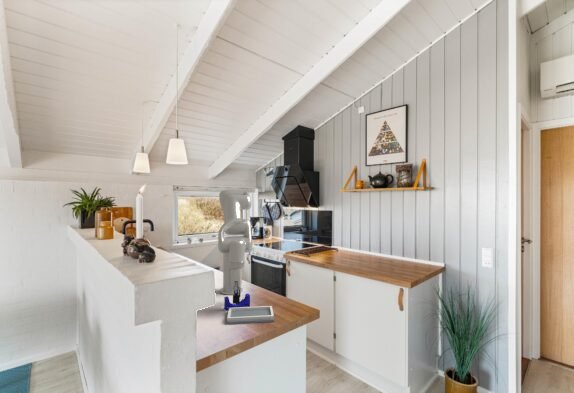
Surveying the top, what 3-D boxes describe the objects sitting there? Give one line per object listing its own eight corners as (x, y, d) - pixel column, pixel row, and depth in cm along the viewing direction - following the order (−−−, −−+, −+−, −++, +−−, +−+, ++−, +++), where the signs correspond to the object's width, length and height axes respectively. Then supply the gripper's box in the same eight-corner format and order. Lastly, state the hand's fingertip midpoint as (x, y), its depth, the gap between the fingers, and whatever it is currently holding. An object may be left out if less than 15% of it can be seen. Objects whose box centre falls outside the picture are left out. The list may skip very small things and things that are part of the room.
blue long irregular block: (247, 304, 142) (247, 292, 142) (249, 307, 138) (250, 295, 138) (223, 308, 137) (223, 295, 137) (225, 311, 133) (225, 298, 133)
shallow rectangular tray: (229, 311, 132) (229, 306, 132) (271, 309, 135) (271, 305, 135) (226, 324, 118) (226, 319, 118) (274, 322, 121) (274, 316, 121)
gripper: (230, 262, 147) (230, 295, 146) (227, 268, 130) (227, 306, 129) (244, 261, 148) (244, 294, 147) (244, 268, 131) (244, 305, 130)
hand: (236, 300), depth 138 cm, fingers open, 9 cm apart
